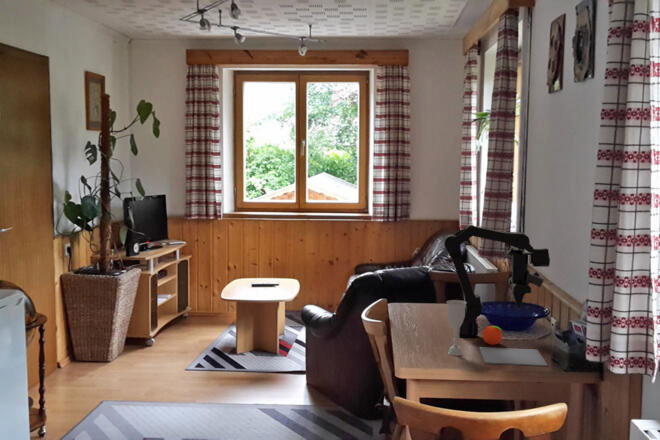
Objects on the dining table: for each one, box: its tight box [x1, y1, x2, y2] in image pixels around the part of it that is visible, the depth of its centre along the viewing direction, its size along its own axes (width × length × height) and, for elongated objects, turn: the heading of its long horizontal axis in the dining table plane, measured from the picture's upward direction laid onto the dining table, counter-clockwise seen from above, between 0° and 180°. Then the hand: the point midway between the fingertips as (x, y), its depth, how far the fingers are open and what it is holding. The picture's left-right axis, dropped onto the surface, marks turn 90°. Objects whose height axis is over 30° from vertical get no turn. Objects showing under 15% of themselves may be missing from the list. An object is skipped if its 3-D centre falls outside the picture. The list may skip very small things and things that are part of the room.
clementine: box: [482, 325, 505, 346], centre depth 234 cm, size 8×7×7 cm
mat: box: [479, 346, 549, 367], centre depth 220 cm, size 20×18×1 cm
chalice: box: [446, 299, 467, 357], centre depth 222 cm, size 7×7×18 cm
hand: (518, 307), depth 242 cm, fingers closed
